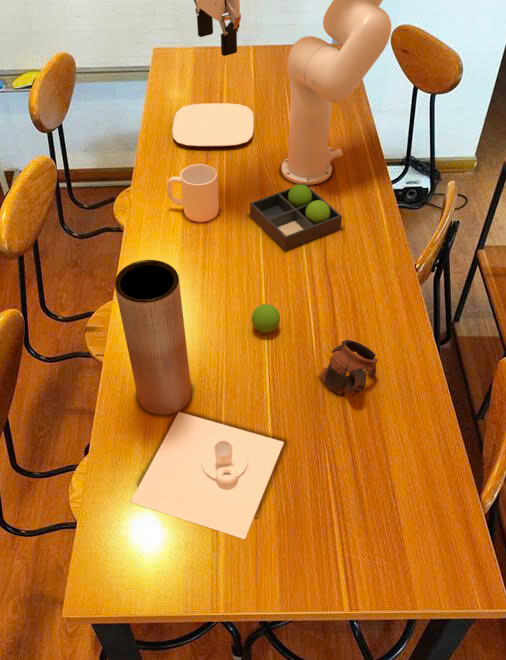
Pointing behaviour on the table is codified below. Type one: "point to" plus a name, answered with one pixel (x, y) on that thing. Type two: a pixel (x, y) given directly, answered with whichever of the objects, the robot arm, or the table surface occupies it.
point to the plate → (213, 125)
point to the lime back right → (317, 212)
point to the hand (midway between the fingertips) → (217, 44)
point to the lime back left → (299, 195)
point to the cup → (197, 192)
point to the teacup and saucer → (209, 474)
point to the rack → (291, 220)
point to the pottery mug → (349, 368)
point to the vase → (155, 334)
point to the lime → (265, 318)
